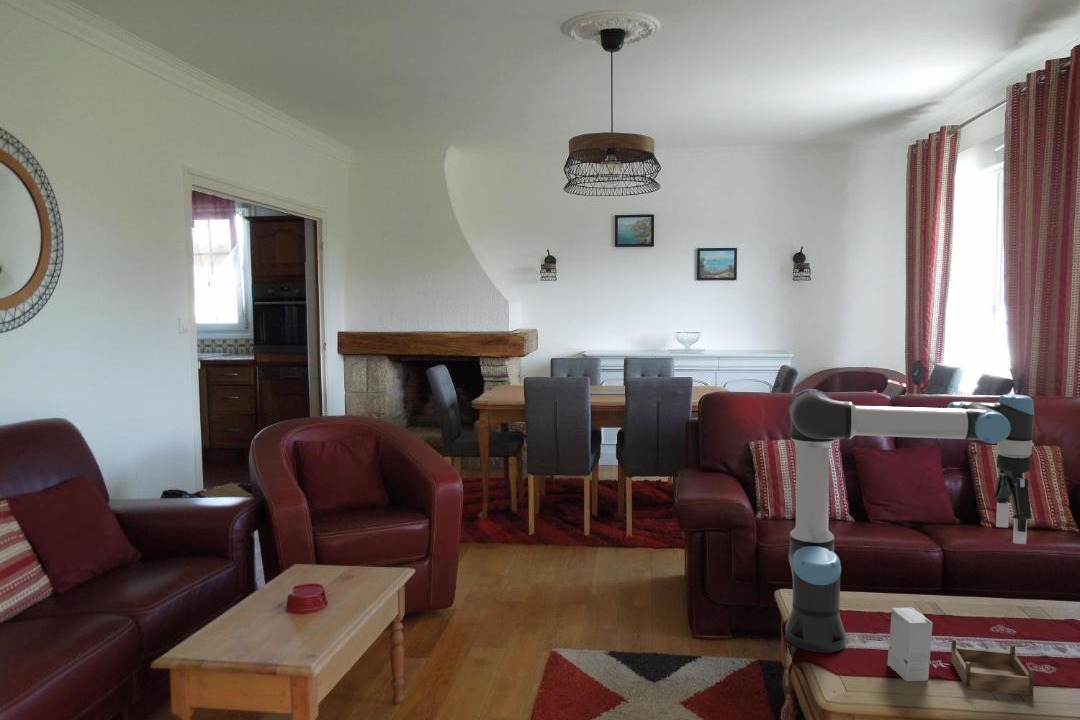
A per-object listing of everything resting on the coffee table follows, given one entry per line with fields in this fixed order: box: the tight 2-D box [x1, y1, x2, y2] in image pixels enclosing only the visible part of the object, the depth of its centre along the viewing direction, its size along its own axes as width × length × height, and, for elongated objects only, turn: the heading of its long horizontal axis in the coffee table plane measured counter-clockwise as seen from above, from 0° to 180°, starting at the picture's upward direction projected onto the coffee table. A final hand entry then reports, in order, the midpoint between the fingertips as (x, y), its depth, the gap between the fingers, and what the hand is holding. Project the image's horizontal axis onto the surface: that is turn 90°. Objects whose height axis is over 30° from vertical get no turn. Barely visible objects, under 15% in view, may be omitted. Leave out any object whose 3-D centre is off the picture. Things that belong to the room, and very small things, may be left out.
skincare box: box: [887, 607, 933, 682], centre depth 176 cm, size 8×6×15 cm
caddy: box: [950, 638, 1035, 697], centre depth 174 cm, size 14×13×6 cm
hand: (1010, 534), depth 192 cm, fingers open, 13 cm apart
